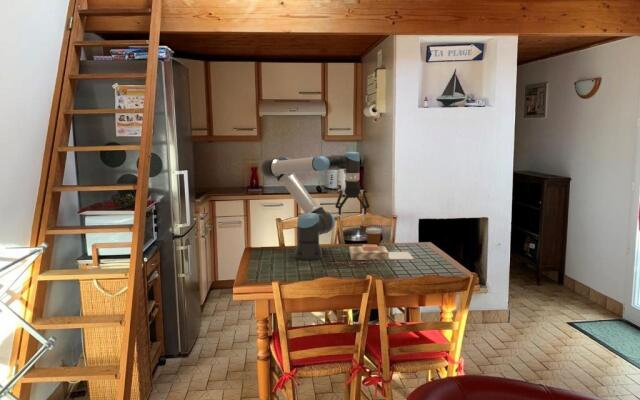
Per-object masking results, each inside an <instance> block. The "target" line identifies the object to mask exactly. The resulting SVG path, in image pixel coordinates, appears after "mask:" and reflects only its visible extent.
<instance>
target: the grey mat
mask: <svg viewBox="0 0 640 400" xmlns="http://www.w3.org/2000/svg"><path fill="white" fill-rule="evenodd" d="M388 252H389V260H390V261H412V260H413V261H414V260H415V258H414V257H413V256H412V255H411V253H410V251H388Z"/></svg>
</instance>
